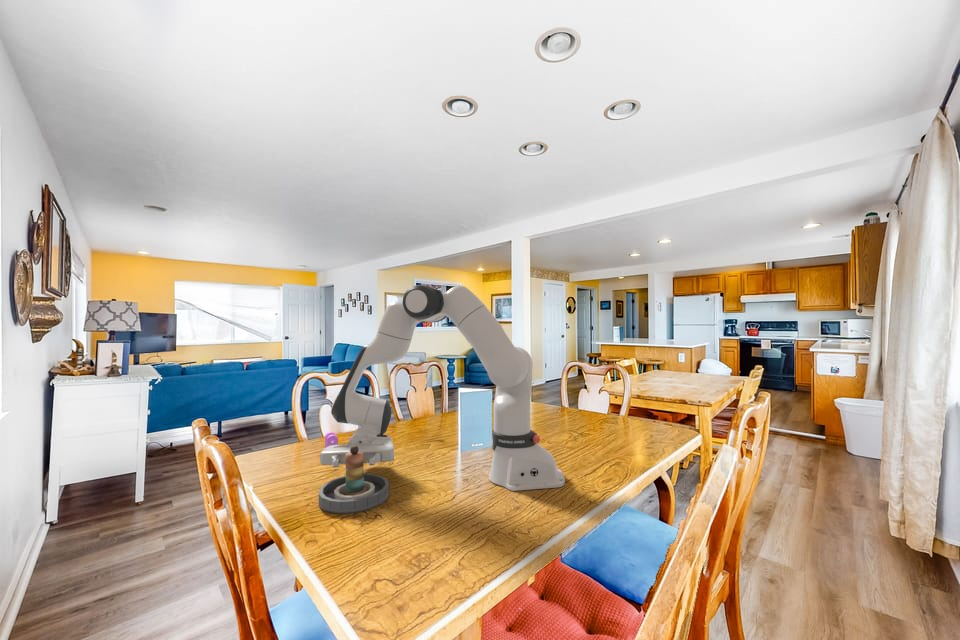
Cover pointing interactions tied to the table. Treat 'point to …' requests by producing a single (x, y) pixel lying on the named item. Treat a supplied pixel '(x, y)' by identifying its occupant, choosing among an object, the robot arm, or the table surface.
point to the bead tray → (347, 504)
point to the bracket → (330, 439)
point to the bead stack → (354, 472)
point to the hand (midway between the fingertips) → (353, 463)
